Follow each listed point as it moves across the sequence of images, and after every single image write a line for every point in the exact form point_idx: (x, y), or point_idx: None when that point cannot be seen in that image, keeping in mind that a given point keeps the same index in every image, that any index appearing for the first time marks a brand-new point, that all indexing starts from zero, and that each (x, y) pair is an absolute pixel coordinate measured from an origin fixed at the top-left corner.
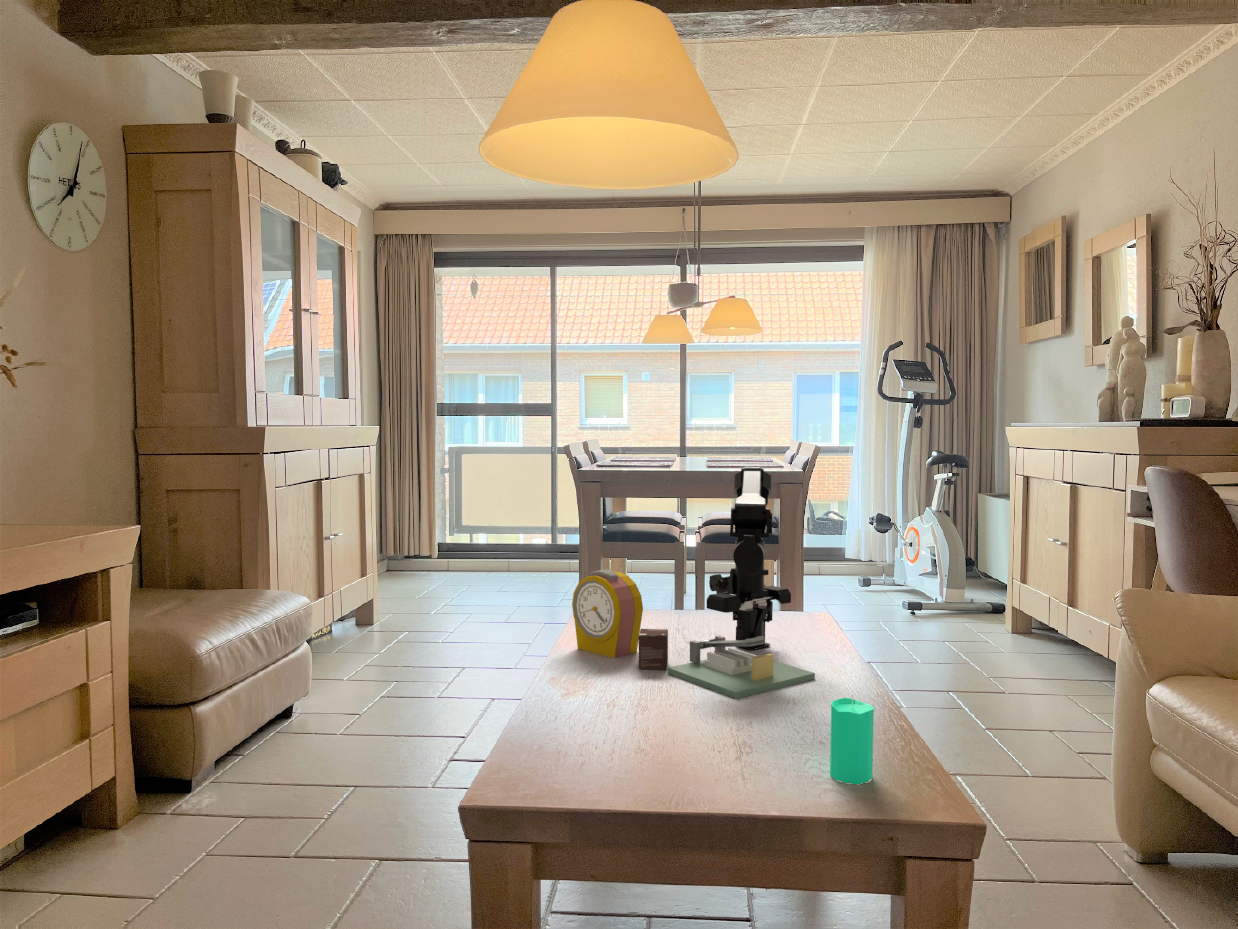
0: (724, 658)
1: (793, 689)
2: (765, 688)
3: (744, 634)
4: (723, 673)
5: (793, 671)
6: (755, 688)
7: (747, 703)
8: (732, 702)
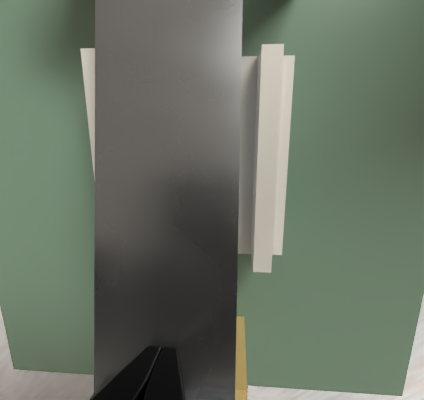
0: None
1: None
2: None
3: (115, 382)
4: None
5: (355, 342)
6: None
7: (35, 390)
8: (3, 363)
